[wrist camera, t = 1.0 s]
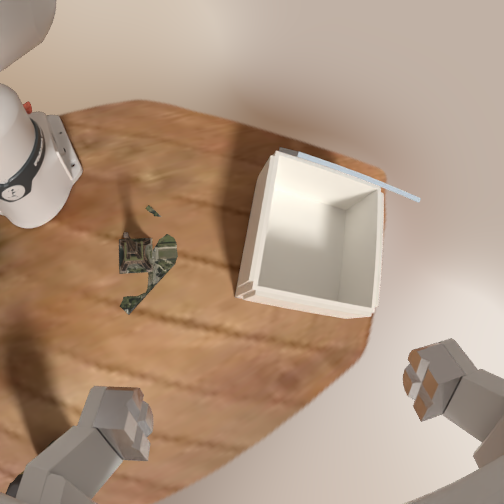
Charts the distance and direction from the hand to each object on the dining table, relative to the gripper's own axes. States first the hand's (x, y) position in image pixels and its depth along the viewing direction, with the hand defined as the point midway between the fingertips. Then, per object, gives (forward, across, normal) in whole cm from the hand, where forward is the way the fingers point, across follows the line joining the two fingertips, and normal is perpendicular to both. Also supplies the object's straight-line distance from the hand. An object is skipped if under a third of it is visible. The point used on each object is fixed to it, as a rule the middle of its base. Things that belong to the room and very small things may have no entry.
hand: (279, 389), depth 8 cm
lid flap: (+34, -14, +2) cm, 36 cm away
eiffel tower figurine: (+37, +17, +12) cm, 43 cm away
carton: (+42, -8, +16) cm, 45 cm away
